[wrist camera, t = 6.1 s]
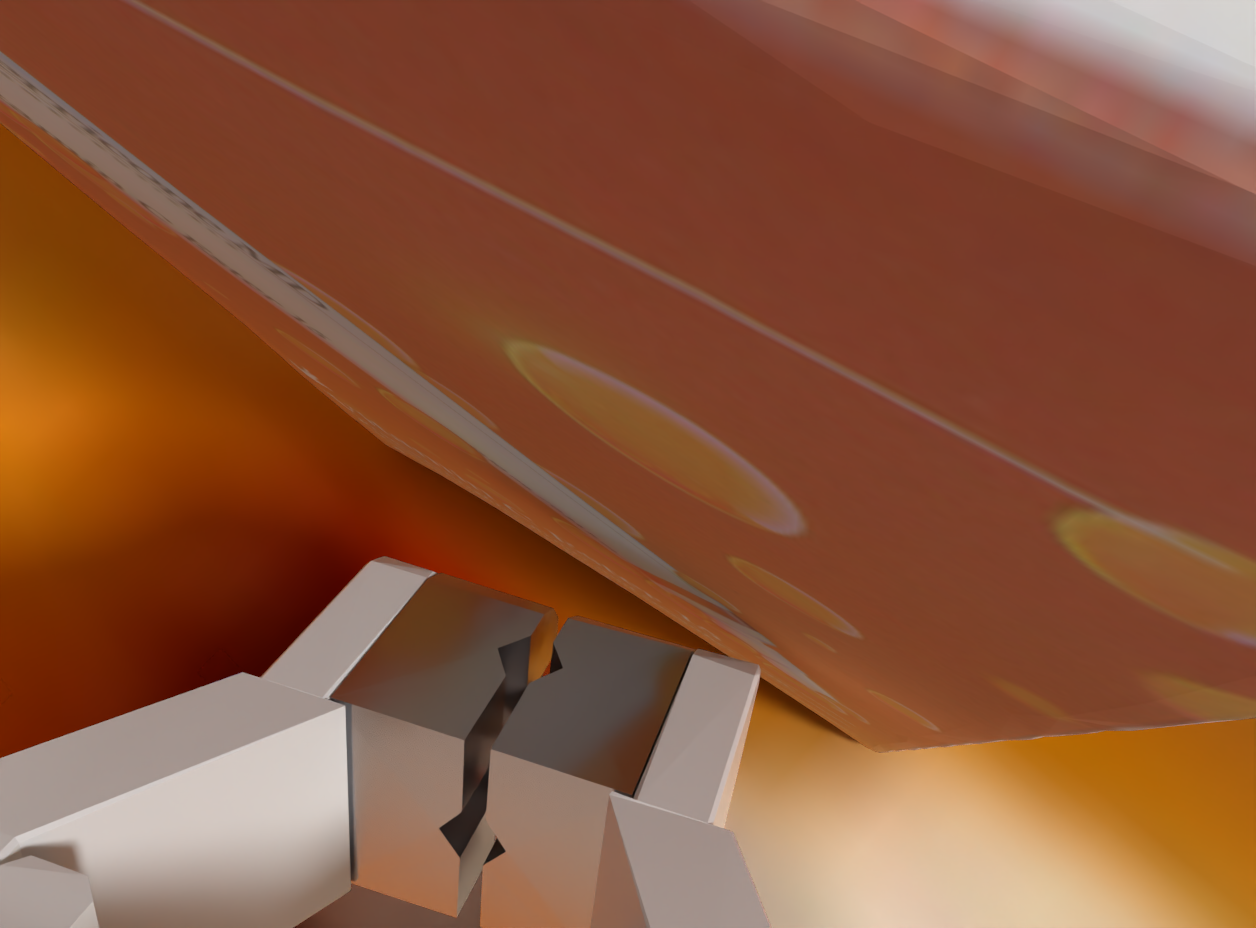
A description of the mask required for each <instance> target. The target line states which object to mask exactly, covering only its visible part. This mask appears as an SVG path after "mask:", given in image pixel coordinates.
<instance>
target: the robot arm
mask: <svg viewBox="0 0 1256 928" xmlns="http://www.w3.org/2000/svg"><path fill="white" fill-rule="evenodd" d="M557 632H558V615H557V614H556V612H555V610H554V609H553V608H551V607H547V606H544V605H541V604H538V603H535V602H532V601H529V600H525V599H522V598H519V597H516V596H513V595H510V594H506V593H503V592H500V591H497V590H494V589H491V588H488V587H484V586H481V585H478V584H475V583H472V582H469V581H465V580H462V579H459V578H456V577H453V576H450V575H447V574H443V573H439V574H438V573H436V572H433V571H431V570H427V569H424V568H421V567H418V566H415V565H411V564H408V563H405V562H402V561H399V560H396V559H392V558H389V557H386V556H383V557H380V558H377V559H375V560H372V561H370V562H368V563H367V564H366V565H365V566H364V567H363V568H362V569H361V570H360V571H359V572H358V573H357V574H356V576H355V577H354V578H353V579H352V580H351V581H350V582H349V583H348V584H347V585H346V586H345V587H344V588H343V589H342V590H341V592H340V593H339V594H338V595H337V596H336V597H335V598H334V599H333V600H332V601H331V602H330V603H329V604H328V605H327V607H326V608H325V609H324V610H323V611H322V612H321V613H320V614H319V615H318V616H317V617H316V618H315V619H314V620H313V621H312V623H311V624H310V625H309V626H308V627H307V628H306V629H305V630H304V631H303V632H302V633H301V634H300V635H299V636H298V637H297V639H296V640H295V641H294V642H293V643H292V644H291V645H290V646H289V647H288V648H287V649H286V650H285V651H284V652H283V654H282V655H281V656H280V657H279V658H278V659H277V660H276V661H275V662H274V663H273V664H272V665H271V666H270V667H269V668H268V670H267V671H266V672H265V673H264V674H263V675H262V676H261V677H257V676H253V675H250V674H247V673H244V672H242V673H239V674H236V675H233V676H231V677H228V678H225V679H222V680H219V681H216V682H214V683H211V684H208V685H205V686H202V687H200V688H197V689H194V690H191V691H188V692H185V693H183V694H180V695H177V696H174V697H171V698H169V699H166V700H163V701H160V702H157V703H154V704H152V705H149V706H146V707H143V708H140V709H137V710H135V711H132V712H129V713H126V714H123V715H121V716H118V717H115V718H112V719H109V720H106V721H104V722H101V723H98V724H95V725H92V726H90V727H87V728H84V729H81V730H78V731H75V732H73V733H70V734H67V735H64V736H61V737H59V738H56V739H53V740H50V741H47V742H44V743H42V744H39V745H36V746H33V747H30V748H27V749H25V750H22V751H19V752H16V753H13V754H11V755H8V756H5V757H2V758H0V928H293V927H295V926H296V925H298V924H300V923H301V922H303V921H304V920H306V919H307V918H309V917H310V916H312V915H314V914H315V913H317V912H318V911H320V910H321V909H323V908H325V907H326V906H328V905H329V904H331V903H332V902H334V901H335V900H337V899H339V898H340V897H342V896H343V895H345V894H346V893H348V892H349V891H351V883H352V884H355V885H358V886H361V887H364V888H367V889H370V890H373V891H376V892H379V893H382V894H385V895H388V896H391V897H394V898H397V899H400V900H403V901H406V902H409V903H412V904H415V905H418V906H421V907H424V908H428V909H431V910H434V911H437V912H440V913H443V914H446V915H449V916H452V917H455V918H457V916H458V915H459V913H460V911H461V909H462V907H463V905H464V903H465V901H466V900H467V898H468V896H469V894H470V892H471V890H472V888H473V887H474V885H475V883H476V881H477V879H478V877H479V875H480V873H481V872H482V891H481V912H480V927H482V928H772V927H771V925H770V922H769V920H768V917H767V915H766V912H765V910H764V907H763V905H762V902H761V900H760V897H759V895H758V892H757V890H756V887H755V885H754V882H753V880H752V878H751V875H750V873H749V870H748V868H747V865H746V863H745V860H744V858H743V855H742V853H741V850H740V848H739V845H738V843H737V840H736V838H735V835H734V833H733V832H732V831H730V830H727V829H724V827H725V823H726V819H727V815H728V811H729V807H730V803H731V798H732V794H733V790H734V786H735V782H736V778H737V774H738V770H739V766H740V761H741V757H742V753H743V749H744V744H745V740H746V736H747V732H748V728H749V723H750V719H751V715H752V711H753V706H754V702H755V698H756V694H757V690H758V685H759V680H760V674H761V669H760V667H759V665H758V664H754V663H751V662H747V661H743V660H739V659H736V658H732V657H728V656H724V655H721V654H717V653H713V652H709V651H706V650H702V649H697V650H696V649H693V648H689V647H686V646H682V645H679V644H675V643H672V642H668V641H665V640H661V639H658V638H654V637H651V636H647V635H644V634H640V633H637V632H633V631H630V630H626V629H623V628H619V627H615V626H612V625H608V624H605V623H601V622H598V621H594V620H591V619H587V618H584V617H580V616H574V617H571V618H568V619H567V621H566V623H565V624H564V626H563V627H562V629H561V631H560V632H559V634H558V635H557ZM550 660H551V667H550V674H548V675H546V676H544V677H543V676H542V674H543V672H544V671H545V669H546V667H547V665H548V664H549V662H550ZM495 835H496V837H497V839H496V841H495V843H494V840H495Z"/></svg>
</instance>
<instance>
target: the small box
mask: <svg viewBox="0 0 1256 928" xmlns="http://www.w3.org/2000/svg"><path fill="white" fill-rule="evenodd" d="M0 123H1V124H2V125H3V126H4V127H5V128H7V129H8V130H9V131H10V132H11V133H13V134H14V135H15V136H16V137H17V138H19V139H20V140H21V141H22V142H24V143H25V144H26V145H27V146H28V147H30V148H31V149H32V150H33V151H34V152H36V153H37V154H38V155H39V156H40V157H42V158H43V159H44V160H45V161H46V162H48V163H49V164H50V165H51V166H52V167H54V168H55V169H56V170H57V171H58V172H60V173H61V174H62V175H63V176H64V177H66V178H67V179H68V180H69V181H70V182H71V183H73V184H74V185H75V186H76V187H77V188H79V189H80V190H81V191H82V192H84V193H85V194H86V195H87V196H88V197H90V198H91V199H92V200H93V201H94V202H96V203H97V204H98V205H99V206H100V207H102V208H103V209H104V210H105V211H106V212H108V213H109V214H110V215H111V216H112V217H114V218H115V219H116V220H117V221H118V222H120V223H121V224H122V225H123V226H125V227H126V228H127V229H128V230H129V231H131V232H132V233H133V234H134V235H136V236H137V237H138V238H139V239H141V240H142V241H143V242H144V243H145V244H147V245H148V246H149V247H150V248H152V249H153V250H154V251H155V252H156V253H158V254H159V255H160V256H161V257H163V258H164V259H165V260H166V261H167V262H169V263H170V264H171V265H172V266H174V267H175V268H176V269H177V270H178V271H180V272H181V273H182V274H183V275H185V276H186V277H187V278H188V279H190V280H191V281H192V282H193V283H194V284H196V285H197V286H198V287H199V288H201V289H202V290H203V291H204V292H205V293H207V294H208V295H209V296H210V297H211V298H213V299H214V300H215V301H216V302H218V303H219V304H220V305H221V306H222V307H224V308H225V309H226V310H227V311H229V312H230V313H231V314H232V315H233V316H235V317H236V318H237V319H238V320H240V321H241V322H242V323H243V324H244V325H246V326H247V327H248V328H249V329H250V330H251V331H252V332H253V333H255V334H256V335H257V336H258V337H259V338H260V339H261V340H262V341H264V342H265V343H266V344H267V345H268V346H269V347H270V348H272V349H273V350H274V351H275V352H276V353H277V354H278V355H279V356H281V357H282V358H283V359H284V360H285V361H286V362H287V363H288V364H289V365H290V366H292V367H293V368H294V369H295V370H296V371H297V372H298V373H299V374H301V375H302V376H303V377H304V378H305V379H306V380H308V381H309V382H310V383H311V384H312V385H314V386H315V387H316V388H317V389H318V390H319V391H321V392H322V393H323V394H324V395H325V396H327V397H328V398H329V399H330V400H331V401H333V402H334V403H335V404H336V405H337V406H339V407H340V408H341V409H342V410H343V411H345V412H346V413H347V414H348V415H349V416H351V417H352V418H353V419H355V420H356V421H357V422H358V423H360V424H361V425H362V426H363V427H364V428H366V429H367V430H368V431H369V432H371V433H372V434H373V435H374V436H376V437H377V438H378V439H379V440H381V441H382V442H383V443H384V444H386V445H387V446H389V447H391V448H392V449H394V450H396V451H398V452H400V453H401V454H403V455H405V456H407V457H409V458H410V459H412V460H414V461H416V462H418V463H419V464H421V465H423V466H425V467H427V468H428V469H430V470H432V471H434V472H436V473H437V474H439V475H441V476H443V477H445V478H446V479H448V480H450V481H451V482H453V483H455V484H456V485H458V486H460V487H461V488H463V489H465V490H466V491H468V492H470V493H472V494H473V495H475V496H477V497H478V498H480V499H482V500H483V501H485V502H487V503H488V504H490V505H492V506H493V507H495V508H497V509H498V510H500V511H501V512H503V513H505V514H506V515H508V516H509V517H511V518H512V519H514V520H516V521H517V522H519V523H520V524H522V525H524V526H525V527H527V528H528V529H530V530H531V531H533V532H535V533H536V534H538V535H539V536H541V537H542V538H544V539H546V540H547V541H549V542H550V543H552V544H553V545H555V546H557V547H558V548H560V549H561V550H563V551H564V552H566V553H568V554H569V555H571V556H572V557H574V558H576V559H577V560H579V561H580V562H582V563H584V564H585V565H587V566H588V567H590V568H592V569H593V570H595V571H597V572H598V573H600V574H601V575H603V576H605V577H606V578H608V579H609V580H611V581H613V582H614V583H616V584H617V585H619V586H621V587H622V588H624V589H625V590H627V591H629V592H630V593H632V594H634V595H635V596H637V597H638V598H640V599H641V600H643V601H644V602H646V603H647V604H649V605H651V606H652V607H654V608H655V609H657V610H658V611H660V612H661V613H663V614H664V615H666V616H668V617H669V618H671V619H672V620H674V621H675V622H677V623H678V624H680V625H681V626H683V627H684V628H686V629H688V630H689V631H691V632H692V633H694V634H695V635H697V636H698V637H700V638H701V639H703V640H704V641H706V642H708V643H709V644H711V645H712V646H714V647H715V648H717V649H718V650H720V651H721V652H723V653H725V654H726V655H728V656H729V657H732V658H736V659H739V660H743V661H747V662H751V663H754V664H758V665H759V667H760V669H761V674H760V677H761V678H763V679H764V680H766V681H767V682H769V683H770V684H772V685H773V686H775V687H776V688H778V689H779V690H781V691H783V692H784V693H786V694H787V695H789V696H790V697H792V698H793V699H795V700H796V701H798V702H799V703H801V704H802V705H804V706H805V707H807V708H808V709H810V710H811V711H813V712H815V713H816V714H818V715H819V716H821V717H822V718H824V719H825V720H827V721H828V722H830V723H831V724H833V725H834V726H836V727H837V728H839V729H840V730H842V731H843V732H845V733H846V734H847V735H849V736H850V737H852V738H853V739H855V740H856V741H858V742H859V743H861V744H862V745H864V746H865V747H867V748H869V749H871V750H873V751H875V752H879V753H883V752H891V751H903V750H917V749H928V748H936V747H950V746H956V745H968V744H981V743H989V742H998V741H1006V740H1031V739H1036V738H1041V737H1049V736H1065V735H1077V734H1087V733H1097V732H1101V731H1132V730H1142V729H1151V728H1161V727H1170V726H1179V725H1189V724H1200V723H1210V722H1220V721H1230V720H1240V719H1251V718H1256V0H0Z"/></svg>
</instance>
